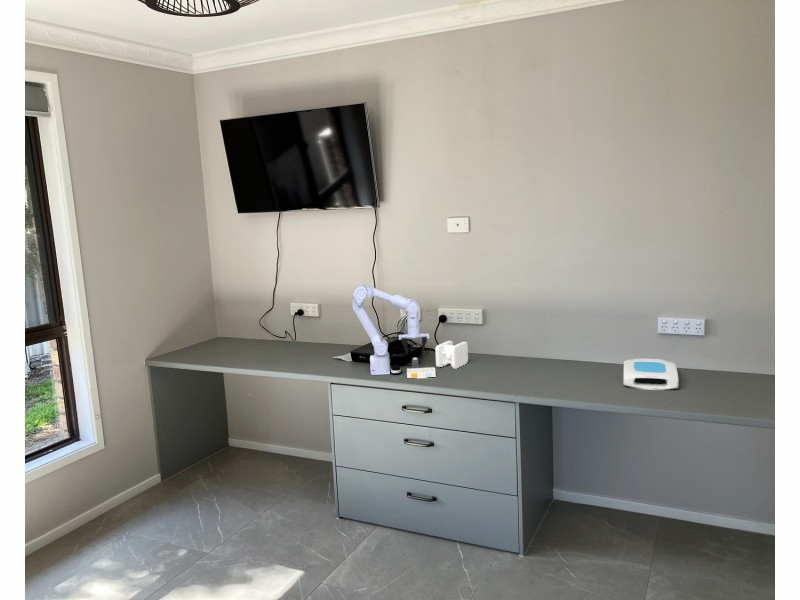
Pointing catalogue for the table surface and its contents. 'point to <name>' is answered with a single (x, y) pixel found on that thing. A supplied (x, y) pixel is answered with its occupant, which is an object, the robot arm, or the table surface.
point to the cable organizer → (451, 354)
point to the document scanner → (650, 373)
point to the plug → (415, 363)
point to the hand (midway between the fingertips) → (414, 353)
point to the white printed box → (421, 372)
